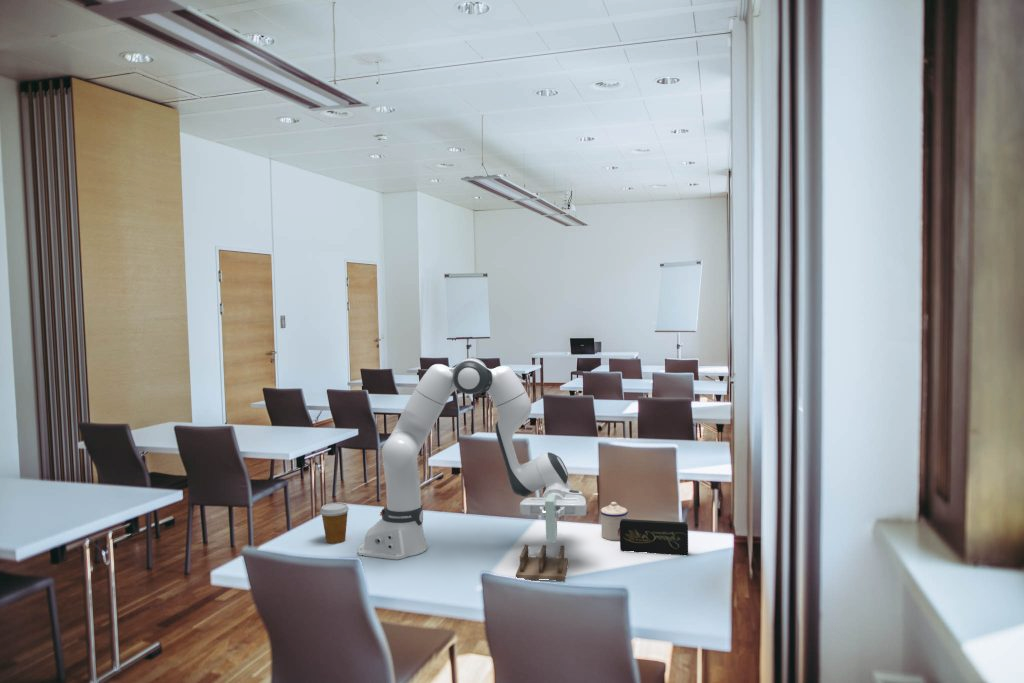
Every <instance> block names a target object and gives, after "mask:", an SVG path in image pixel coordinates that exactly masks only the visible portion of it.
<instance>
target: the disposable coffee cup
mask: <svg viewBox="0 0 1024 683" xmlns="http://www.w3.org/2000/svg"><path fill="white" fill-rule="evenodd" d="M349 510H350V508H349V506H348V503H345V502H332V503H331V502H330V503H326V504H323V505H322V506H321V508H320V510H319V511H320V512H319V513H320V515H321V517H322V518H321V519H322V523H323V530H324V535H325V541H326V543H327V544H332V545H333V544H334V545H335V544H340V543H343V542H345V541H346V535H347V534H346V533H347V526H348V525H347V522H348V512H349Z"/></svg>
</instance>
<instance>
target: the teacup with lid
mask: <svg viewBox="0 0 1024 683" xmlns="http://www.w3.org/2000/svg"><path fill="white" fill-rule="evenodd" d="M628 513H629V512H628V509H627V508H626V507H624V506H621V505H619V504H618V503H617V502H616V501H612V502H610V504H609V505H607V506H604V507H602V508H601V509H600V516H601V518H600V520H601V537H602V538H603V539H605V540H609V541H620V521H621V520H622V519H628Z"/></svg>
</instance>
